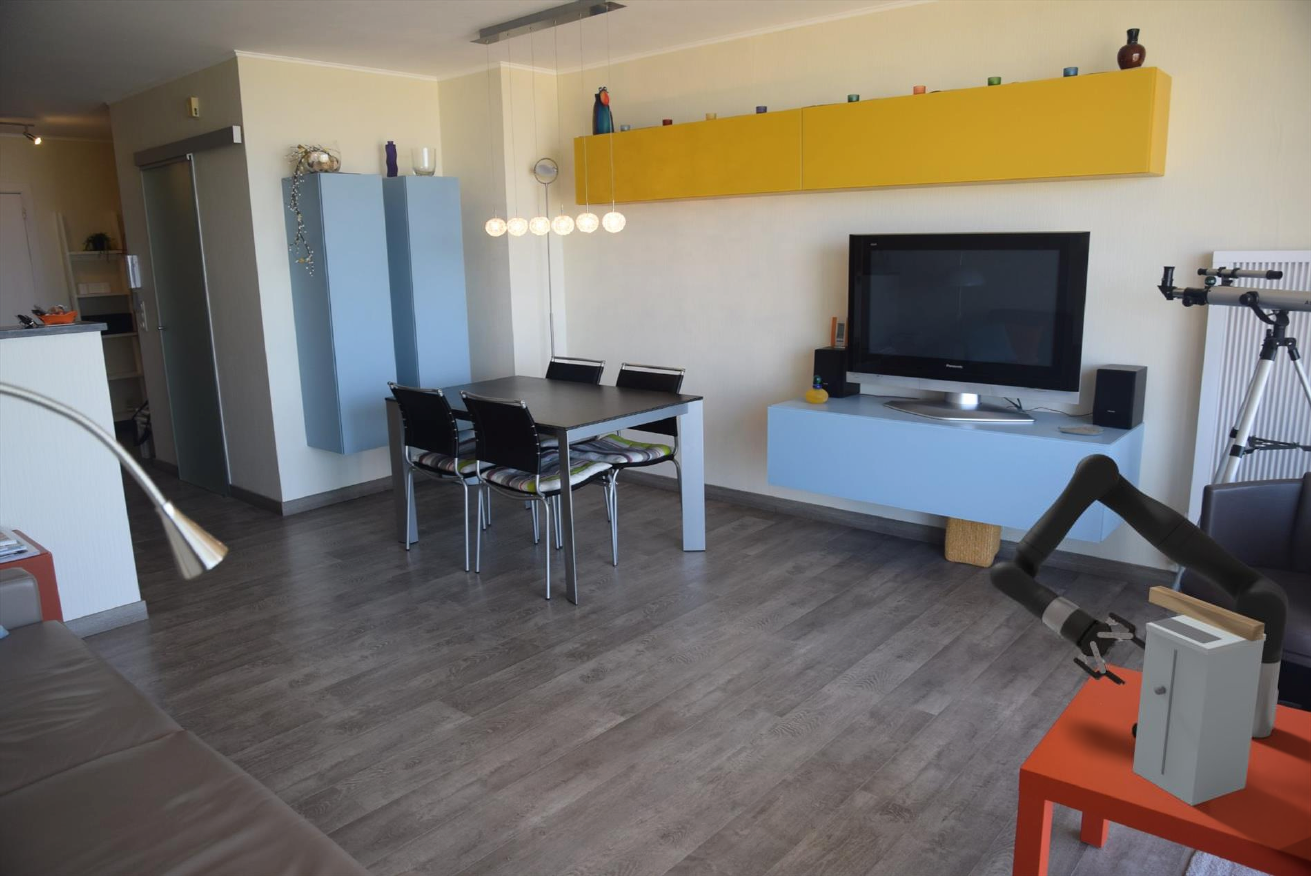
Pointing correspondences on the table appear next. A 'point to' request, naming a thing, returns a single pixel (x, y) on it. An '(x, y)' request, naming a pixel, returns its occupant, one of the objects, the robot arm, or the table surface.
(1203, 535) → the robot arm
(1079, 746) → the table surface
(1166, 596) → the oak batten
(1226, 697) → the light grey cabinet
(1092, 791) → the table surface
